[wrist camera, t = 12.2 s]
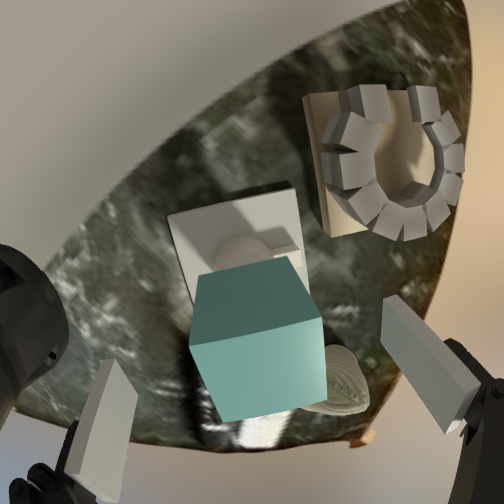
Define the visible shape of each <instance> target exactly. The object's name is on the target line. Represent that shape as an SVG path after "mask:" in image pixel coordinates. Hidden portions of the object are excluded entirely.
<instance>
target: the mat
mask: <svg viewBox="0 0 504 504" xmlns="http://www.w3.org/2000/svg"><path fill="white" fill-rule="evenodd" d="M167 218H168V222H169V226H170V229H171V233H172V236H173V239H174V243H175V246H176V250H177V253H178V256H179V259H180V263H181V266H182V269H183V272H184V275H185V279H186V282H187V285H188V288H189V291H190V294H191V297H192V300H193V303H194V302H195V295H196V288H197V281H198V275H202V274H207V273H211V272H213V265H214V256H215V253H216V251H217V249H218V247H219V246H220V245H221V244H222V243H223V242H224V241H225V240H227V239H228V238H230V237H233V236H236V235H241V234H248V235H253V236H256V237H258V238H260V239H261V240H263V241H264V242H265V243H266V244H267V245H268V247H269V248H270V249H274V248H279V247H283V246H288V245H292V244H296V245H297V246H298V247H299V249H300V252H301V259H302V266H301V267H297V268H294V269H295V270H296V272H297V274H298V276H299V277H300V279H301V281H302V283H303V284H304V286H305V288H306V290H307V291H308V293H309V295H310V292H309V283H308V275H307V268H306V260H305V253H304V245H303V238H302V232H301V225H300V218H299V212H298V205H297V199H296V193H295V189H294V188H289V189H284V190H279V191H274V192H269V193H264V194H259V195H254V196H250V197H245V198H240V199H236V200H231V201H227V202H222V203H218V204H213V205H209V206H205V207H201V208H196V209H192V210H188V211H184V212H180V213H176V214H172V215H168V217H167Z"/></svg>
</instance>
